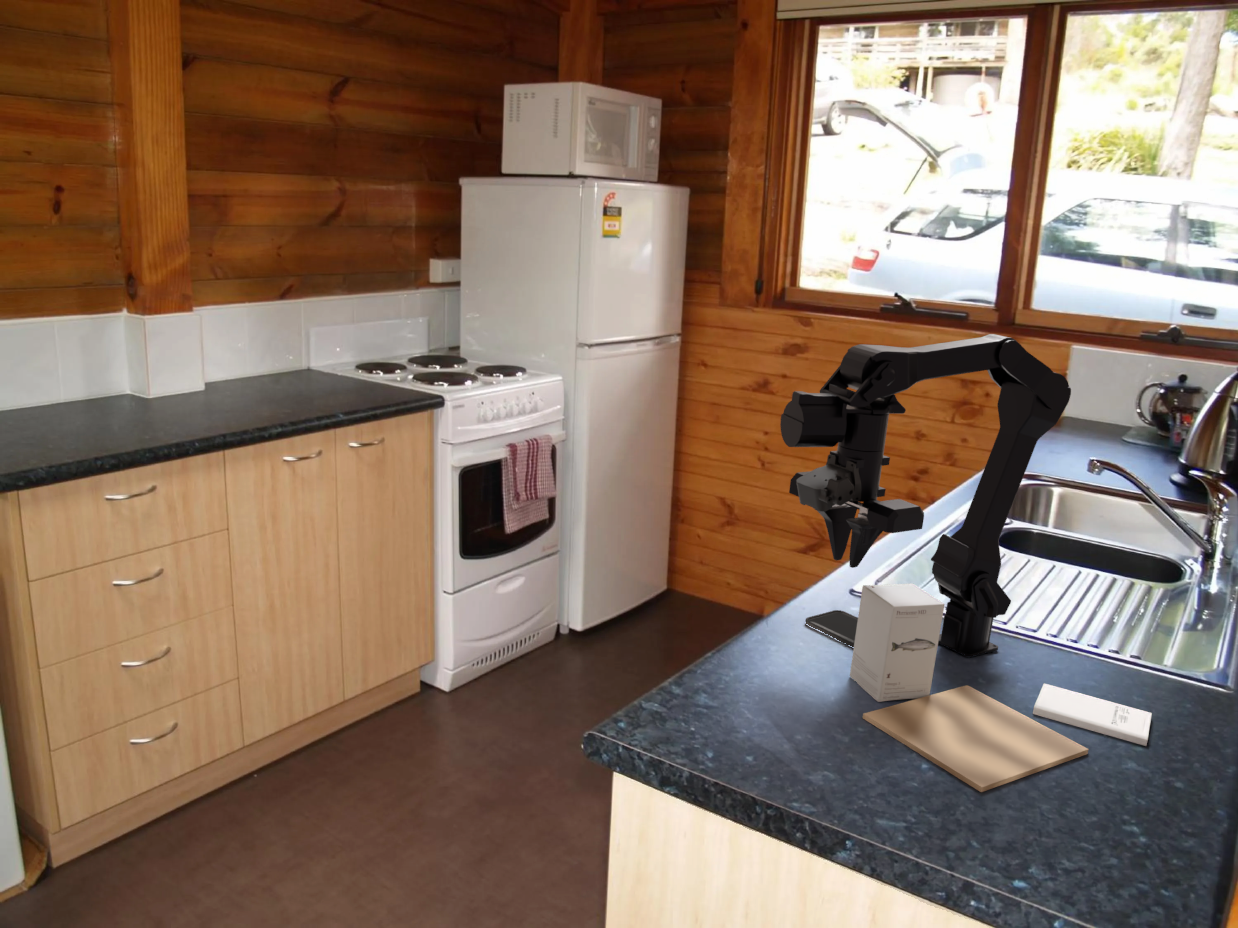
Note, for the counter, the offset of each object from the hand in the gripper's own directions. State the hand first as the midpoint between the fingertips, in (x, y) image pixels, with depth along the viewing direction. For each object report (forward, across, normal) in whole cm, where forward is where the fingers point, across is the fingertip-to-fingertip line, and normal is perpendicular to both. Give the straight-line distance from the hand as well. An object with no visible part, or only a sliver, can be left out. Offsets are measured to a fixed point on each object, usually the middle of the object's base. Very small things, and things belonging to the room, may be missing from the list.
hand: (845, 563), depth 132 cm
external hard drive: (+14, +26, +18) cm, 35 cm away
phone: (+14, -3, +8) cm, 16 cm away
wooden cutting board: (+13, +23, 0) cm, 26 cm away
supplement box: (+13, +10, 0) cm, 17 cm away
